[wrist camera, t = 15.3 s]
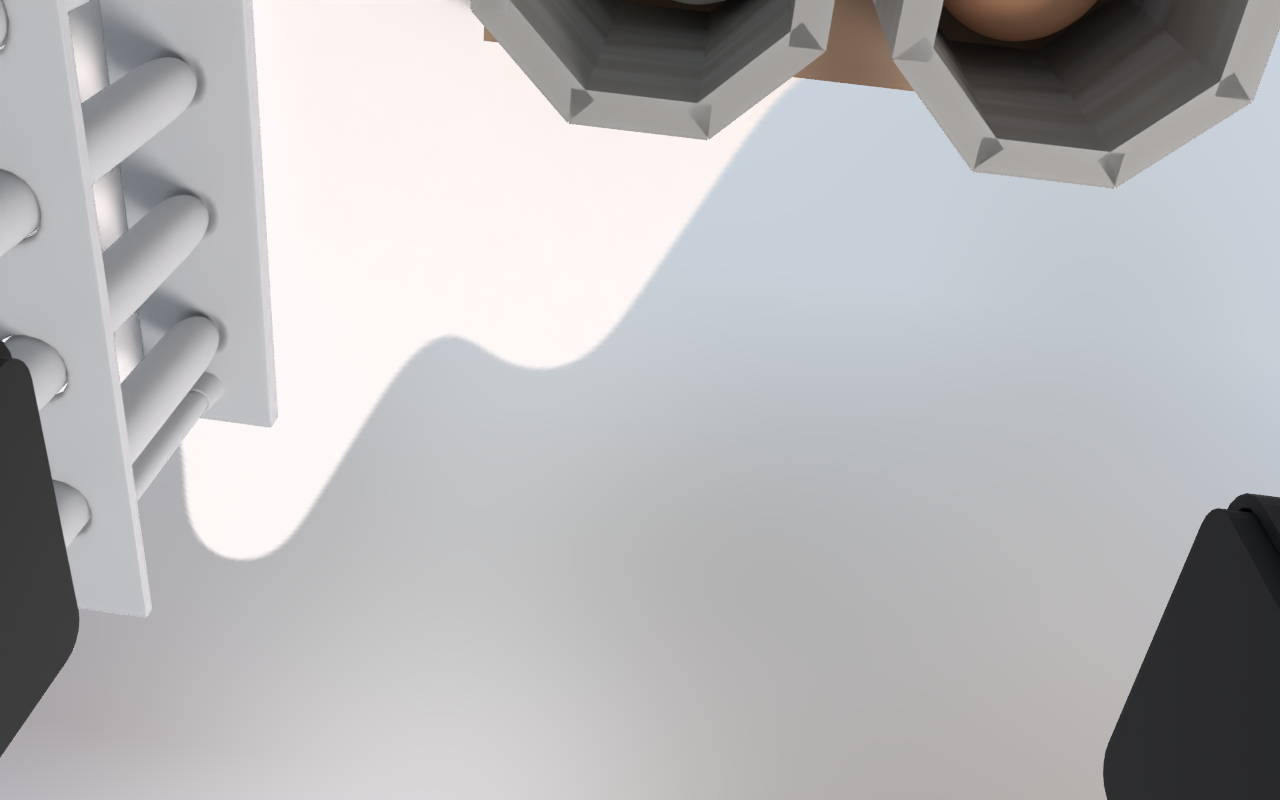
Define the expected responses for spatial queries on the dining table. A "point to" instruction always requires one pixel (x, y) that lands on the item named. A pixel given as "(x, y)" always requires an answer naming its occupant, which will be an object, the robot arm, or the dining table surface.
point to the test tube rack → (132, 256)
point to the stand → (906, 71)
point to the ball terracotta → (1017, 16)
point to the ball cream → (698, 1)
